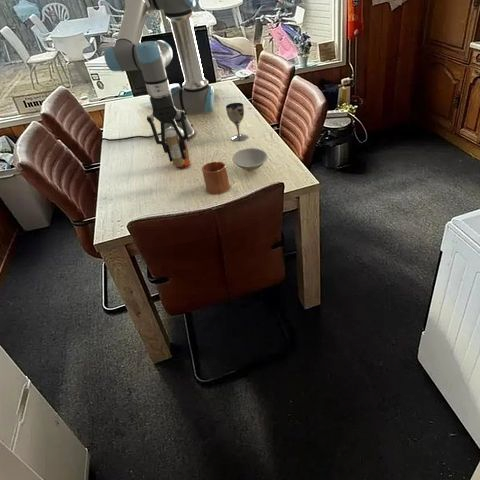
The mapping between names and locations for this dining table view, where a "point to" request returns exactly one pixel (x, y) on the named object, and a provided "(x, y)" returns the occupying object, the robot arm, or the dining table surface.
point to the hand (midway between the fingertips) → (177, 158)
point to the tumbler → (215, 177)
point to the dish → (249, 158)
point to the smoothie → (187, 159)
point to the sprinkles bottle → (174, 146)
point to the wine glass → (236, 117)
